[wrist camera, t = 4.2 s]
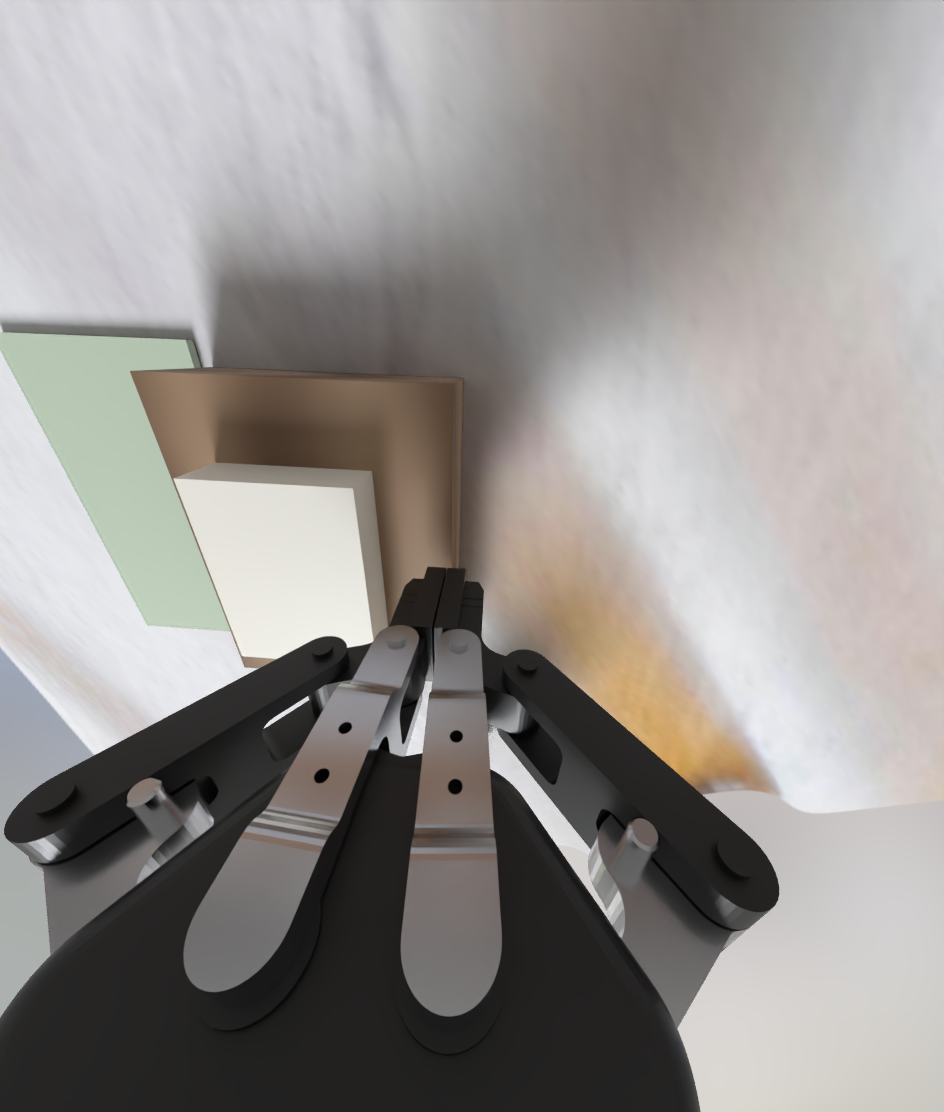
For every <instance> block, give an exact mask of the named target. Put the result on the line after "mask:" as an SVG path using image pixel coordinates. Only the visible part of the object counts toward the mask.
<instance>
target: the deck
mask: <svg viewBox="0 0 944 1112" xmlns="http://www.w3.org/2000/svg"><path fill="white" fill-rule="evenodd" d="M130 373H131V376H132V379H133V381H134V384H135V386H136V389H137V391H138V394H139V397H140V399H141V402H142V404H143V407H144V409H145V412H146V415H147V417H148V420H149V422H150V425H151V427H152V430H153V433H154V435H155V438H156V440H157V443H158V445H159V448H160V451H161V453H162V456H163V458H164V461H165V463H166V466H167V469H168V471H169V474H170V476H171V479H172V481H173V484H174V487H175V489H176V492H177V494H178V497H179V499H180V502H181V505H182V507H183V510H184V512H185V515H186V517H187V520H188V523H189V525H190V528H191V530H192V533H193V535H194V538H195V541H196V543H197V546H198V548H199V551H200V553H201V556H202V559H203V561H204V564H205V566H206V569H207V571H208V574H209V577H210V579H211V582H212V584H213V587H214V589H215V592H216V595H217V597H218V600H219V602H220V605H221V608H222V610H223V613H224V615H225V618H226V620H227V623H228V626H229V628H230V631H231V633H232V636H233V638H234V641H235V644H236V646H237V649H238V651H239V654H240V656H241V659H242V662H243V664H244V667H249V668H261V667H263V666H265V665H266V664H268V663H270V662H272V661H274V660H276V659H271V658H258V657H245V656H242V655H241V653H240V650H239V647H238V645H237V642H236V640H235V637H234V634H233V632H232V629H231V627H230V624H229V622H228V619H227V616H226V614H225V611H224V609H223V606H222V603H221V601H220V598H219V596H218V593H217V590H216V588H215V585H214V583H213V580H212V577H211V575H210V572H209V570H208V567H207V565H206V562H205V559H204V557H203V554H202V552H201V549H200V546H199V544H198V541H197V539H196V536H195V533H194V531H193V528H192V526H191V523H190V520H189V518H188V515H187V513H186V510H185V508H184V505H183V502H182V500H181V497H180V495H179V492H178V489H177V487H176V484H175V482H174V479H173V478H176V477H178V476H181V475H184V474H186V473H189V472H192V471H194V470H197V469H200V468H202V467H205V466H207V465H210V464H213V463H233V464H252V465H270V466H289V467H307V468H326V469H345V470H363V471H372V476H373V485H374V495H375V505H376V514H377V524H378V533H379V543H380V553H381V562H382V572H383V582H384V591H385V601H386V611H387V620H388V627H389V625H390V622H391V620H392V617H393V615H394V612H395V610H396V607H397V605H398V603H399V600H400V597H401V596H402V592H403V590H404V587H405V585H406V584H407V583H409V582H410V581H411V580H412V579H413V578H417V579H424V576H425V573H426V570H427V567H445V568H459V564H460V517H461V470H462V423H463V378H445V377H422V376H399V375H376V374H353V373H330V372H307V371H284V370H262V369H239V368H216V367H208V368H185V369H162V370H138V371H130ZM425 681H429V680H425Z"/></svg>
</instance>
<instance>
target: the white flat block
mask: <svg viewBox="0 0 944 1112" xmlns="http://www.w3.org/2000/svg"><path fill="white" fill-rule="evenodd" d="M173 479H174V482H175V484H176V487H177V489H178V492H179V495H180V497H181V500H182V502H183V505H184V508H185V510H186V513H187V515H188V518H189V520H190V523H191V526H192V528H193V531H194V533H195V536H196V539H197V541H198V544H199V546H200V549H201V552H202V554H203V557H204V559H205V562H206V565H207V567H208V570H209V572H210V575H211V577H212V580H213V583H214V585H215V588H216V590H217V593H218V596H219V598H220V601H221V603H222V606H223V609H224V611H225V614H226V616H227V619H228V622H229V624H230V627H231V629H232V632H233V634H234V637H235V640H236V642H237V645H238V647H239V650H240V653H241V655H242V656H245V657H258V658H271V659H278V658H280V657H282V656H283V655H285V654H287V653H289V652H291V651H293V650H295V649H297V648H299V647H301V646H302V645H304V644H306V643H308V642H310V641H312V640H314V639H317V638H320V637H325V636H335V637H339V638H341V639H343V640H344V641H345V642H346V644H347V648H349V647H354V646H360V645H365V644H369V643H372V642H373V641H374V639H375V637H376V636H377V634H378V633H379V632H380V631H382V630H383V629H385V628H387V627H388V620H387V611H386V601H385V591H384V582H383V572H382V562H381V553H380V543H379V533H378V524H377V514H376V505H375V495H374V485H373V476H372V471H363V470H345V469H326V468H307V467H289V466H270V465H252V464H233V463H213V464H210V465H207V466H205V467H202V468H200V469H197V470H194V471H192V472H189V473H186V474H184V475H181V476H178V477H176V478H173Z"/></svg>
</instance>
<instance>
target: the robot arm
mask: <svg viewBox="0 0 944 1112" xmlns="http://www.w3.org/2000/svg"><path fill="white" fill-rule="evenodd" d="M483 595H484V590H483V588H482V587H481V585H480V583H479V582H468V581H466V569H463V568H445V567H427V570H426V573H425V576H424V579H417V578H413V579H412V580H411V581H410V582H409V583H407V584H406V585H405V587H404V590H403V592H402V596H401V597H400V600H399V603H398V605H397V607H396V610H395V612H394V615H393V617H392V620H391V622H390V625H389V627H387V628H385V629H383V630H382V631H380V632H379V633H378V634H377V636H376V637H375V639H374V641H373V642H372V643H369V644H365V645H360V646H354V647H349V648H347V644H346V642H345V641H344V640H343V639H341V638H339V637H335V636H325V637H320V638H317V639H314V640H312V641H310V642H308V643H306V644H304V645H302V646H301V647H299V648H297V649H295V650H293V651H291V652H289V653H287V654H285V655H283V656H282V657H280V658H278V659H276V660H274V661H272V662H270V663H268V664H266V665H265V666H263V667H261V668H259V669H257V670H255V671H253V672H251V673H249V674H248V675H246V676H244V677H242V678H240V679H238V680H236V681H234V682H232V683H231V684H229V685H227V686H225V687H223V688H221V689H219V690H217V691H215V692H214V693H212V694H210V695H208V696H206V697H204V698H202V699H200V700H198V701H196V702H195V703H193V704H191V705H189V706H187V707H185V708H183V709H181V710H179V711H178V712H176V713H174V714H172V715H170V716H168V717H166V718H164V719H162V720H161V721H159V722H157V723H155V724H153V725H151V726H149V727H147V728H145V729H144V730H142V731H140V732H138V733H136V734H134V735H132V736H130V737H128V738H127V739H125V740H123V741H121V742H119V743H117V744H115V745H113V746H111V747H110V748H108V749H106V750H104V751H102V752H100V753H98V754H96V755H94V756H92V757H91V758H89V759H87V760H85V761H83V762H81V763H79V764H78V765H76V766H74V767H72V768H70V769H68V770H66V771H65V772H62V773H60V774H59V775H57V776H55V777H53V778H51V779H50V780H48V781H46V782H45V783H43V784H42V785H40V786H39V787H37V788H36V789H35V790H34V791H32V792H31V793H30V794H29V795H27V797H25V798H24V799H23V800H22V801H21V802H20V803H19V804H18V805H17V807H16V808H15V809H14V810H13V811H12V813H11V815H10V816H9V818H8V820H7V822H6V824H5V828H4V834H5V836H6V838H7V839H8V840H9V841H10V842H11V843H12V844H14V845H15V846H16V847H18V848H19V849H20V850H21V851H23V852H24V853H25V854H26V855H28V856H29V859H30V861H31V862H32V863H33V864H34V865H35V866H36V867H38V868H39V869H40V870H42V871H43V872H44V881H45V894H46V905H47V917H48V929H49V940H50V952H51V956H50V957H49V958H48V959H47V960H46V961H45V962H44V963H43V964H42V965H41V966H40V967H39V969H38V970H37V971H36V972H35V973H34V974H33V975H32V976H31V977H30V979H29V980H28V981H27V982H26V984H25V985H24V986H23V987H22V989H21V990H20V991H19V992H18V993H17V995H16V996H15V998H14V999H13V1000H12V1002H11V1003H10V1005H9V1006H8V1007H7V1009H6V1010H5V1011H4V1013H3V1015H2V1016H1V1018H0V1112H700V1106H699V1101H698V1096H697V1091H696V1086H695V1082H694V1078H693V1074H692V1070H691V1067H690V1063H689V1060H688V1057H687V1054H686V1051H685V1048H684V1045H683V1042H682V1040H681V1037H680V1035H679V1032H678V1030H677V1028H678V1026H679V1024H680V1023H681V1021H682V1019H683V1017H684V1016H685V1014H686V1012H687V1010H688V1008H689V1007H690V1005H691V1003H692V1002H693V1000H694V998H695V996H696V994H697V993H698V991H699V989H700V987H701V986H702V984H703V982H704V981H705V979H706V977H707V975H708V973H709V972H710V970H711V968H712V967H713V965H714V963H715V961H716V959H717V958H718V956H719V954H720V953H721V952H722V951H723V950H724V949H725V948H726V947H728V946H729V945H730V944H731V943H732V942H733V941H735V940H736V939H737V938H738V937H739V936H740V935H741V934H743V933H744V932H745V931H746V930H747V929H749V928H750V927H751V926H752V925H753V924H754V923H756V922H757V921H758V920H759V919H760V918H761V917H763V916H764V915H765V914H766V913H767V912H768V911H769V910H771V908H773V907H774V906H775V905H776V903H777V901H778V897H779V884H778V879H777V877H776V873H775V871H774V869H773V866H772V864H771V863H770V861H769V859H768V858H767V856H766V855H765V853H764V852H763V851H762V849H761V848H760V847H759V846H758V845H757V843H756V842H755V841H754V840H753V839H751V837H750V836H748V835H747V834H746V833H745V832H744V831H743V830H742V829H740V828H739V827H738V826H737V825H736V824H735V823H733V822H732V821H731V820H730V819H729V818H728V817H727V816H726V815H724V814H723V813H722V812H721V811H720V810H719V809H718V808H716V807H715V806H714V805H713V804H712V803H711V802H709V801H708V800H707V799H706V798H705V797H703V795H702V794H700V793H699V792H698V791H697V790H696V789H695V788H694V787H692V786H691V785H690V784H689V783H688V782H687V781H685V780H684V779H683V778H682V777H681V776H680V775H679V774H677V773H676V772H675V771H674V770H673V769H672V768H671V767H669V766H668V765H667V764H666V763H665V762H664V761H663V760H661V759H660V758H659V757H658V756H657V755H656V754H655V753H653V752H652V751H651V750H650V749H649V748H648V747H647V746H645V745H644V744H643V743H642V742H641V741H640V740H639V739H637V738H636V737H635V736H634V735H633V734H632V733H631V732H629V731H628V730H627V729H626V728H625V727H624V726H623V725H621V724H620V723H619V722H618V721H617V720H616V719H615V718H613V717H612V716H611V715H610V714H609V713H608V712H606V711H605V710H604V709H603V708H602V707H601V706H600V705H598V704H597V703H596V702H595V701H594V700H593V699H592V698H590V697H589V696H588V695H587V694H586V693H585V692H584V691H582V690H581V689H580V688H579V687H578V686H577V685H576V684H574V683H573V682H572V681H571V680H570V679H569V678H568V677H566V676H565V675H564V674H563V673H562V672H561V671H560V670H558V669H557V668H556V667H555V666H554V665H553V664H552V663H550V662H549V661H548V660H547V659H546V658H545V657H543V656H542V655H541V654H539V653H537V652H534V651H531V650H517V651H514V652H511V653H510V654H508V655H507V656H503V655H500V654H498V653H495V652H493V651H491V650H490V649H489V648H488V647H487V646H486V645H485V644H484V643H483V641H482V637H481V633H482V614H483ZM425 680H429V681H433V682H432V691H431V692H430V694H429V700H428V709H427V718H426V728H425V737H424V746H423V753H422V754H416V755H411V756H406V752H407V748H408V745H409V742H410V738H411V735H412V732H413V729H414V725H415V722H416V719H417V715H418V712H419V709H420V706H421V702H422V692H423V689H424V684H425ZM307 696H308V697H309V701H307V702H306V703H304V704H302V705H301V706H299V707H298V708H296V709H295V710H293V711H292V712H290V713H288V714H287V715H285V716H284V717H282V718H281V719H279V720H277V721H276V722H274V723H273V724H271V725H270V726H268V727H266V728H265V729H263V728H264V727H265V725H266V724H267V723H268V722H269V721H270V720H271V719H272V718H274V717H275V716H277V715H278V714H280V713H282V712H283V711H285V710H286V709H288V708H290V707H291V706H293V705H294V704H296V703H297V702H299V701H301V700H302V699H304V698H305V697H307ZM487 724H489V725H492V726H494V727H497V730H498V733H499V735H500V737H501V738H502V739H503V741H504V742H505V743H506V744H507V746H508V747H509V748H510V749H511V751H512V752H513V753H514V754H515V756H516V757H517V758H518V759H519V761H520V762H521V763H522V764H523V766H524V767H525V768H526V769H527V771H528V772H529V773H530V774H531V775H532V777H533V778H534V779H535V780H536V782H537V783H538V784H539V785H540V787H541V788H542V789H543V790H544V792H545V793H546V794H547V795H548V797H549V798H550V799H551V800H552V802H553V803H554V804H555V805H556V807H557V808H558V809H559V810H560V812H561V813H562V814H563V815H564V817H565V818H566V819H567V820H568V822H569V823H570V824H571V825H572V827H573V828H574V829H575V830H576V832H577V833H578V834H579V835H580V837H581V838H582V839H583V840H584V842H585V843H586V844H587V845H588V847H589V848H590V849H591V851H590V854H589V860H588V868H589V874H590V878H591V881H592V884H593V886H594V888H595V890H596V892H597V893H598V895H599V897H600V898H601V900H602V902H603V904H604V906H605V908H606V910H607V913H608V916H609V919H610V922H609V920H608V919H607V917H606V916H605V915H604V913H603V912H602V910H601V909H600V907H599V906H598V904H597V903H596V901H595V900H594V899H593V897H592V896H591V894H590V893H589V891H588V890H587V889H586V887H585V886H584V884H583V883H582V881H581V880H580V878H579V877H578V876H577V874H576V873H575V871H574V870H573V869H572V867H571V866H570V864H569V863H568V861H567V860H566V859H565V857H564V856H563V854H562V853H561V851H560V850H559V848H558V847H557V845H556V844H555V843H554V841H553V840H552V838H551V837H550V835H549V834H548V833H547V831H546V830H545V828H544V827H543V825H542V824H541V822H540V821H539V820H538V818H537V817H536V815H535V814H534V812H533V811H532V809H531V808H530V807H529V805H528V804H527V802H526V801H525V799H524V798H523V797H522V795H521V794H520V793H519V792H518V790H517V789H516V788H515V787H514V786H513V785H512V784H511V783H510V782H509V781H507V780H506V779H505V778H504V777H502V776H501V775H500V774H498V773H497V772H495V771H493V770H491V769H490V760H489V743H488V726H487Z"/></svg>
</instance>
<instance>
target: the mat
mask: <svg viewBox="0 0 944 1112" xmlns="http://www.w3.org/2000/svg"><path fill="white" fill-rule="evenodd" d="M0 350H1V352H2V354H3V356H4V358H5V360H6V362H7V364H8V365H9V367H10V369H11V371H12V373H13V375H14V377H15V379H16V380H17V382H18V384H19V386H20V388H21V390H22V392H23V394H24V395H25V397H26V399H27V401H28V403H29V405H30V407H31V408H32V410H33V412H34V414H35V416H36V418H37V420H38V422H39V423H40V425H41V427H42V429H43V431H44V433H45V435H46V437H47V438H48V440H49V442H50V444H51V446H52V448H53V450H54V452H55V453H56V455H57V457H58V459H59V461H60V463H61V465H62V467H63V468H64V470H65V472H66V474H67V476H68V478H69V480H70V482H71V483H72V485H73V487H74V489H75V491H76V493H77V495H78V497H79V498H80V500H81V502H82V504H83V506H84V508H85V510H86V512H87V513H88V515H89V517H90V519H91V521H92V523H93V525H94V527H95V528H96V530H97V532H98V534H99V536H100V538H101V540H102V542H103V543H104V545H105V547H106V549H107V551H108V553H109V555H110V557H111V558H112V560H113V562H114V564H115V566H116V568H117V570H118V572H119V573H120V575H121V577H122V579H123V581H124V583H125V585H126V586H127V588H128V590H129V592H130V594H131V596H132V598H133V600H134V601H135V603H136V605H137V607H138V609H139V611H140V613H141V615H142V616H143V618H144V620H145V622H146V624H147V625H149V626H163V627H177V628H191V629H204V630H218V631H230V628H229V626H228V623H227V620H226V618H225V615H224V613H223V610H222V608H221V605H220V602H219V600H218V597H217V595H216V592H215V589H214V587H213V584H212V582H211V579H210V577H209V574H208V571H207V569H206V566H205V564H204V561H203V559H202V556H201V553H200V551H199V548H198V546H197V543H196V541H195V538H194V535H193V533H192V530H191V528H190V525H189V523H188V520H187V517H186V515H185V512H184V510H183V507H182V505H181V502H180V499H179V497H178V494H177V492H176V489H175V487H174V484H173V481H172V479H171V476H170V474H169V471H168V469H167V466H166V463H165V461H164V458H163V456H162V453H161V451H160V448H159V445H158V443H157V440H156V438H155V435H154V433H153V430H152V427H151V425H150V422H149V420H148V417H147V415H146V412H145V409H144V407H143V404H142V402H141V399H140V397H139V394H138V391H137V389H136V386H135V384H134V381H133V379H132V376H131V373H130V371H138V370H162V369H185V368H201V366H200V362H199V359H198V356H197V352H196V349H195V346H194V342H193V340H180V339H155V338H131V337H106V336H81V335H57V334H32V333H8V332H0Z"/></svg>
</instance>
